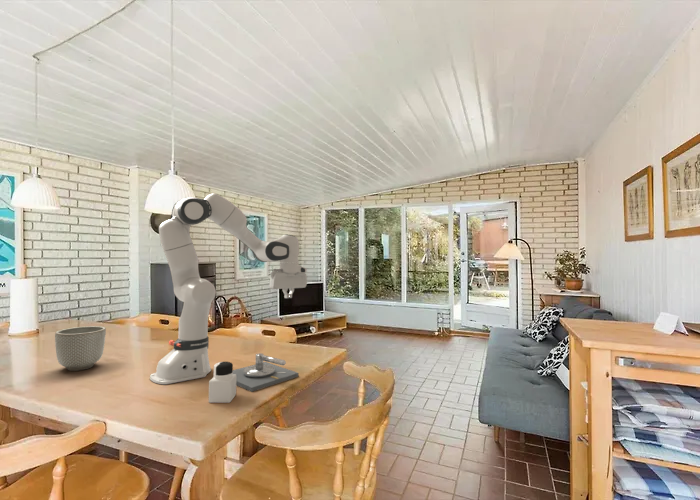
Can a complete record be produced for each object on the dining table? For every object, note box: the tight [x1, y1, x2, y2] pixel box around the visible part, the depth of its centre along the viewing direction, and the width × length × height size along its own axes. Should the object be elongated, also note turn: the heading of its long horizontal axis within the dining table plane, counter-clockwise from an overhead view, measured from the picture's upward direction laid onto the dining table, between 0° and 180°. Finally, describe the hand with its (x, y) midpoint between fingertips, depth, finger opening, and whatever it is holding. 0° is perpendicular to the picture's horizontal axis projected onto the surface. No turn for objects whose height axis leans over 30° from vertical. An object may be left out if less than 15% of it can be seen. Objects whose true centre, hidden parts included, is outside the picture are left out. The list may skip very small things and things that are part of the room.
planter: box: [54, 325, 107, 372], centre depth 152 cm, size 17×17×16 cm
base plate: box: [233, 361, 299, 393], centre depth 143 cm, size 22×22×2 cm
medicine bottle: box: [208, 361, 237, 404], centre depth 122 cm, size 7×7×12 cm
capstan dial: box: [244, 353, 287, 378], centre depth 141 cm, size 20×12×7 cm, turn 56°
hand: (288, 297), depth 171 cm, fingers closed
